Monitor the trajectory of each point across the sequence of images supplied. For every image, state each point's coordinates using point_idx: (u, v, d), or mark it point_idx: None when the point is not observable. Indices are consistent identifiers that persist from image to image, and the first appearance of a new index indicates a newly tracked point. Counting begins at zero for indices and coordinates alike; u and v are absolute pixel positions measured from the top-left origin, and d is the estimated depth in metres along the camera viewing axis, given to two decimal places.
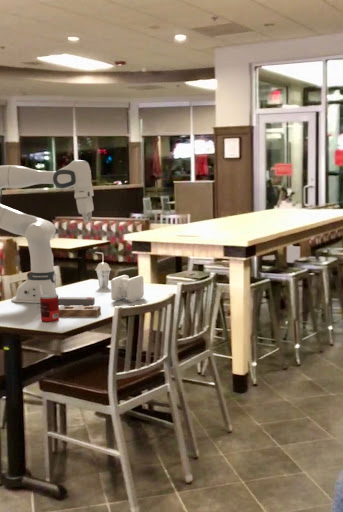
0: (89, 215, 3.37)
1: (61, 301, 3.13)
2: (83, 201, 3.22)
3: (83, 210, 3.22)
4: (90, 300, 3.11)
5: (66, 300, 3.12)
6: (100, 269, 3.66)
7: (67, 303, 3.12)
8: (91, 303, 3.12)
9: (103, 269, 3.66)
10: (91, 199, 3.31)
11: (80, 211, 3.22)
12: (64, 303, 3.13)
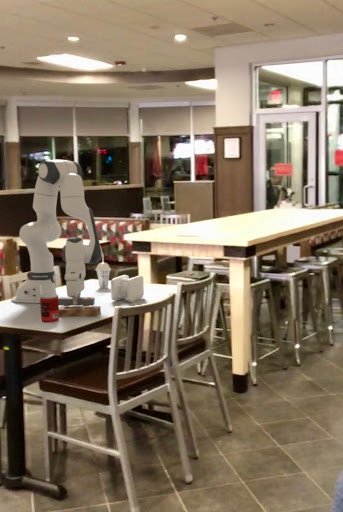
0: (78, 295, 3.17)
1: (61, 301, 3.13)
2: (74, 284, 3.03)
3: (72, 293, 3.03)
4: (90, 300, 3.11)
5: (66, 300, 3.12)
6: (100, 269, 3.66)
7: (67, 303, 3.12)
8: (91, 303, 3.12)
9: (103, 269, 3.66)
10: (82, 280, 3.13)
11: (69, 294, 3.04)
12: (64, 303, 3.13)
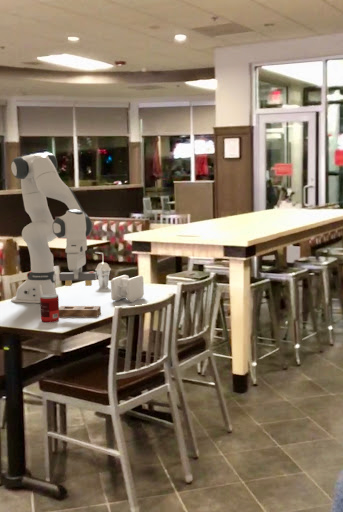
0: (79, 270, 3.06)
1: (62, 276, 3.02)
2: (75, 257, 2.92)
3: (73, 267, 2.92)
4: (92, 274, 3.00)
5: (67, 275, 3.01)
6: (100, 269, 3.66)
7: (68, 278, 3.01)
8: (93, 277, 3.01)
9: (103, 269, 3.66)
10: (84, 253, 3.02)
11: (70, 267, 2.93)
12: (65, 278, 3.02)
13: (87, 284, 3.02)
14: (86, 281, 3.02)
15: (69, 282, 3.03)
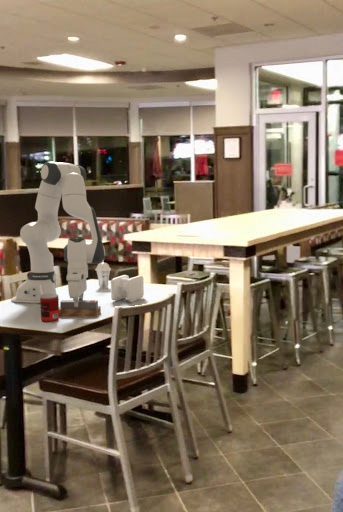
0: (81, 296, 3.09)
1: (63, 305, 3.03)
2: (76, 284, 2.94)
3: (74, 295, 2.94)
4: (93, 303, 3.02)
5: (68, 303, 3.03)
6: (100, 269, 3.66)
7: (69, 306, 3.03)
8: (94, 306, 3.02)
9: (103, 269, 3.66)
10: (85, 280, 3.03)
11: (71, 295, 2.94)
12: (66, 306, 3.03)
13: None
14: None
15: None
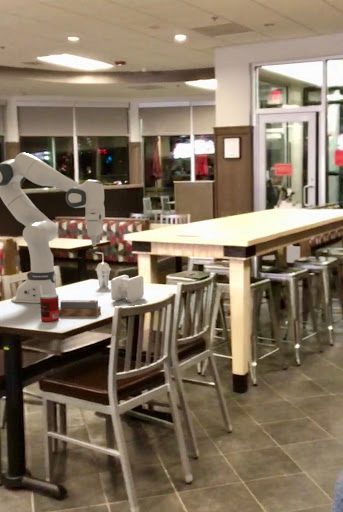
0: (98, 237, 3.24)
1: (63, 305, 3.03)
2: (94, 224, 3.08)
3: (93, 233, 3.08)
4: (93, 303, 3.02)
5: (68, 303, 3.03)
6: (100, 269, 3.66)
7: (69, 306, 3.03)
8: (94, 306, 3.02)
9: (103, 269, 3.66)
10: (102, 222, 3.17)
11: (89, 234, 3.08)
12: (66, 306, 3.03)
13: None
14: None
15: None
